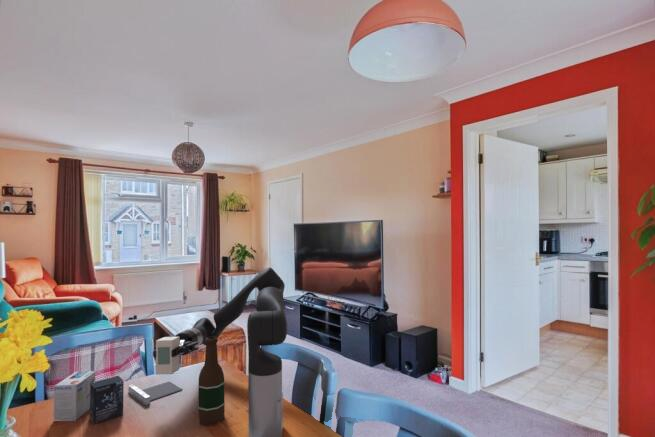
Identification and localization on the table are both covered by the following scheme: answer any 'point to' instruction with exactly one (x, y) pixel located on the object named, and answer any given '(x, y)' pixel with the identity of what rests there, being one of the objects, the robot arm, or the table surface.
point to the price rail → (139, 395)
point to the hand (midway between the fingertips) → (163, 353)
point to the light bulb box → (73, 396)
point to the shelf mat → (161, 390)
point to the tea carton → (167, 355)
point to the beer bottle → (211, 387)
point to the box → (106, 399)
